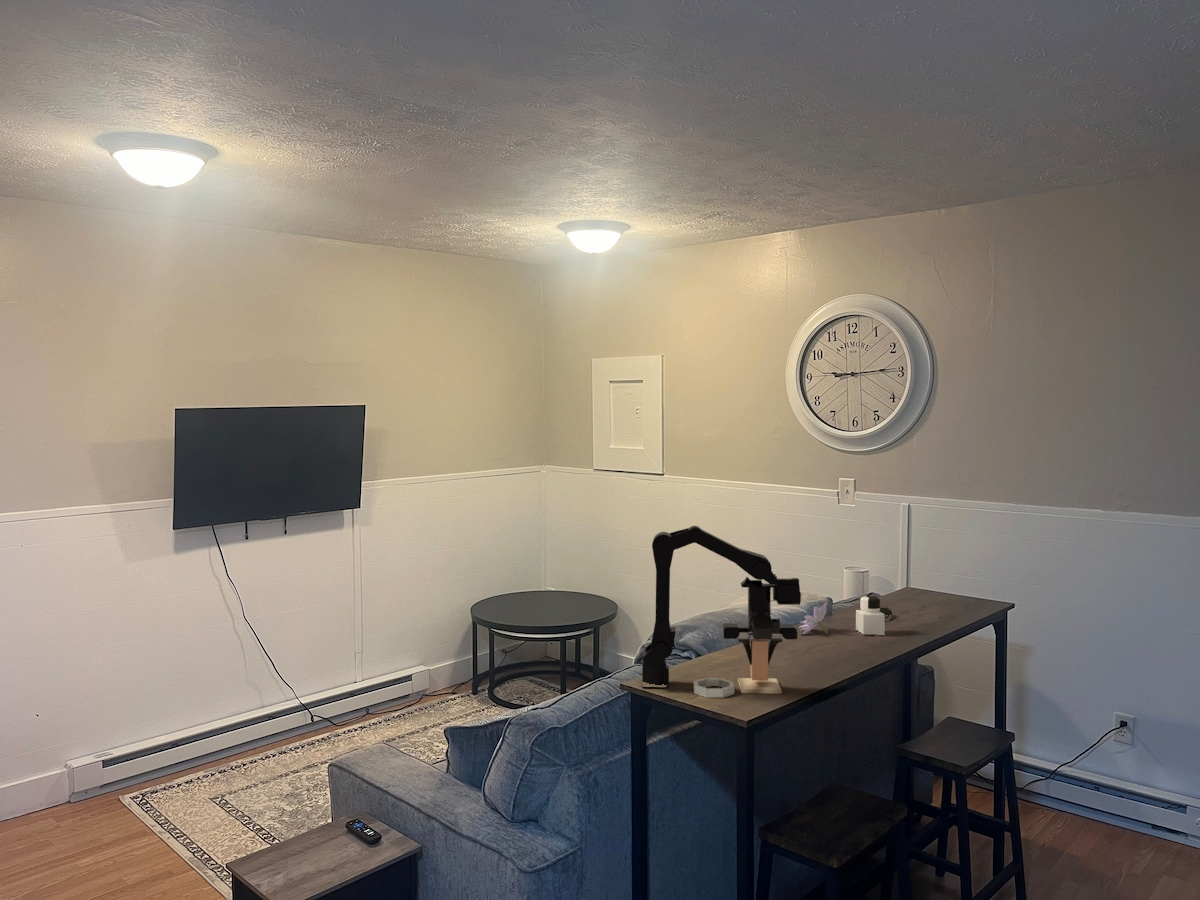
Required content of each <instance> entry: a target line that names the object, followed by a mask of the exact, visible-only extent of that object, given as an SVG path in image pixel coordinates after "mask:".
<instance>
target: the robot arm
mask: <svg viewBox="0 0 1200 900" xmlns="http://www.w3.org/2000/svg"><path fill="white" fill-rule="evenodd" d="M691 544H696V545H699V546H701V547H702V548H705V549H707V550H708V551H710V552H713V553H715V554H717V555H718V556H721V557H722V558H724V559H726V560H728V561H730V562H733V563H734V564H736V566H738V567H739V568H740V569H742V570H743V571H744V572H746V573H747V574H748V575H750V577H752V578H753V579H750V578H749V577H748V576H746V577H745V578H744V579H743V581H741V582H740V586H741V587H742V588H747V626H746V627H745V626H741V627H740V626H739V625H738V623H729V622H728V623H723V624H722V626H721V635H722V637H723V639H725V640H726V639H727V640H728V639H729V640H736V639H737V642H739V643H742V645H743V647H744V649H745V653H746V656H747V659H748V660H747V661H748V662H749V663H748V664H749V665H752V657H751V639H750V638H749V636H752V638H754V639H767V640H768V666H769V665H770V662H771V660H772V657H773V654H774V651H775V649H776V648H777V647H776V646H777V645H778V644H779V643H783V638H784V639H785V640H797V639H798V629H797V628H796V626H795V625H794V624H792V623H781V620H780V618H772V617H771V613H772V612H771V609H772V608H771V607H772V606H771V605H772V604H771V599H772V601H775V602H776V604H777V605H779V606H780V605H781V606H782V605H783V606H800V605H801V601H802V600H801V599H802V592H801V587H800V579H799V578H798V577H792V578H791V577H790V578H778V576H777V575H776V574H775V573H773V571H772V565H771V562H770V560H769V559H768V558H767V556H765V555H764V554H760V553H759V552H758V553H757V552H755V551H754V552H753V551H750V550H746V549H743V548H740V547H737V546H736V545H733V544H732V543H729V542H728V541H726V540H724V539H722V538H719V537H717V536H715V535H714V534H712V533H710V532H708V531H705V530H703V529H702V528H701V527H700V526H698V525H692V526H689V527H687V528H683V529H681V530H679V529H678V530H675V531H673V532H667V531H660V532H657V534H655V536H654V537H653V539H652V543H651V547H652V548H651V549H652V555H653V561H654V566H655V572H656V573H655V622H654V627H653V632H652V636H651V642H650V644H648V646H646V647H645V648H644V650H643V655H642V661H641V662H642V663H641V665H642V669H641V670H642V671H641V673H642V680H641V682H642V681H643V682H646V683H649V684H655V685H662V684H664V685H666V684H667V685H669V683H670V666H669V665H668V664H667V660H666V659H667V658H669V657H670V656H671V655H672V654H673V651H674V648H675V649H676V647H677V646H676V643H677V642H676V629H677V627H676V626H671V622H670V596H671V595H670V588H671V587H670V585H671V583H670V581H671V566H672V561H673V556H674V551H676V550H677V549H681V548H683V547H686V546H689V545H691ZM762 580H763V581H765V582H766V583H763V581H762ZM771 591H772V598H771ZM782 637H783V638H782Z"/></svg>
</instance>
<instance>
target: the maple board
mask: <svg viewBox="0 0 1200 900" xmlns="http://www.w3.org/2000/svg"><path fill="white" fill-rule="evenodd" d="M737 683H739V684H738V686H740V687H739V689H740V691H741V694H772V695H773V694H779V695H782V694H783V691H782V687H781V685H780V684H779V682H778V679H777V678H771V677H768V680H752V678H751V677H737Z"/></svg>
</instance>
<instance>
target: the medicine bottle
mask: <svg viewBox="0 0 1200 900" xmlns="http://www.w3.org/2000/svg"><path fill="white" fill-rule="evenodd" d="M859 604H860V609H856V610H855V631H856V630H858V631H859V632H861V633H862V634H878V635H884V636H885V634H886V633H885V630H886V629H885V626H886V624H885V623H886V622H885V615H884V614H883V613H881V612H880V611H879V610H880V608H881V606H880V605H881V600H880V598H879V597H877V596H872V595H865V596H864V595H863V596H862V597H860V602H859Z"/></svg>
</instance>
